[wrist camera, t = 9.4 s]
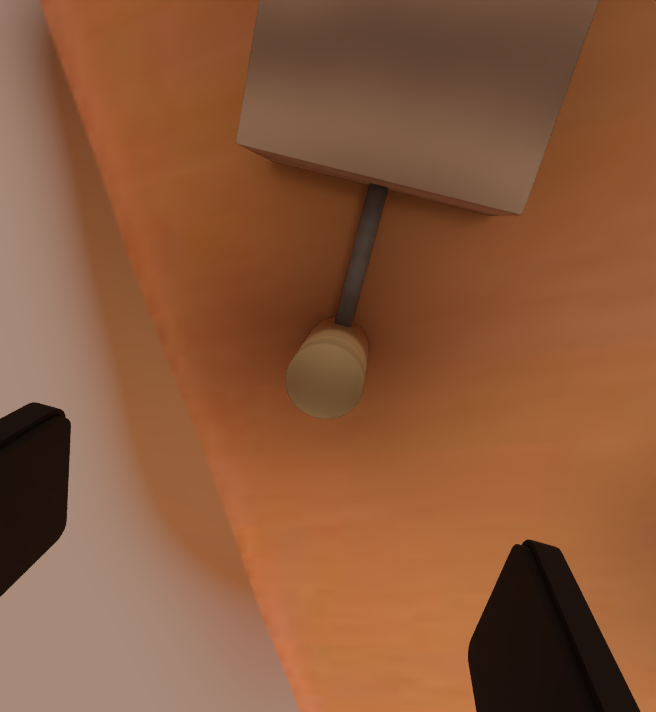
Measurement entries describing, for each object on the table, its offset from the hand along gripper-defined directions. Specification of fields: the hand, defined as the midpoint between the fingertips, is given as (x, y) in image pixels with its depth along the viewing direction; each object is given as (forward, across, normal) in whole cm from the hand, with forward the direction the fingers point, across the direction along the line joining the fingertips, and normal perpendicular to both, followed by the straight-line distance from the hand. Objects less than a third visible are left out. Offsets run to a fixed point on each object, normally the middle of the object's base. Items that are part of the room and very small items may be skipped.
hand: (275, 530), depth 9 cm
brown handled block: (+14, 0, -7) cm, 16 cm away
